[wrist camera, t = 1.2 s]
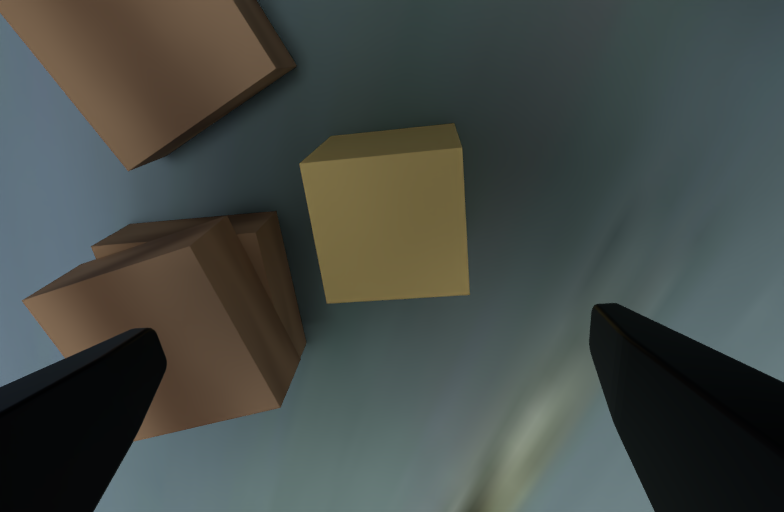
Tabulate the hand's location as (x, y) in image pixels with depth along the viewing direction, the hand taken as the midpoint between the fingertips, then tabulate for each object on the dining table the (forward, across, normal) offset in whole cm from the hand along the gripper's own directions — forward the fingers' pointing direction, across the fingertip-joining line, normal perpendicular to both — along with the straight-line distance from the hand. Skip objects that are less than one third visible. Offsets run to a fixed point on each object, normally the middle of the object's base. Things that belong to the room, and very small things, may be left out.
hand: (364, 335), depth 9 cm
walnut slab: (+11, +8, -7) cm, 16 cm away
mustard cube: (+11, 0, 0) cm, 11 cm away
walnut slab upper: (+8, +9, +4) cm, 13 cm away
